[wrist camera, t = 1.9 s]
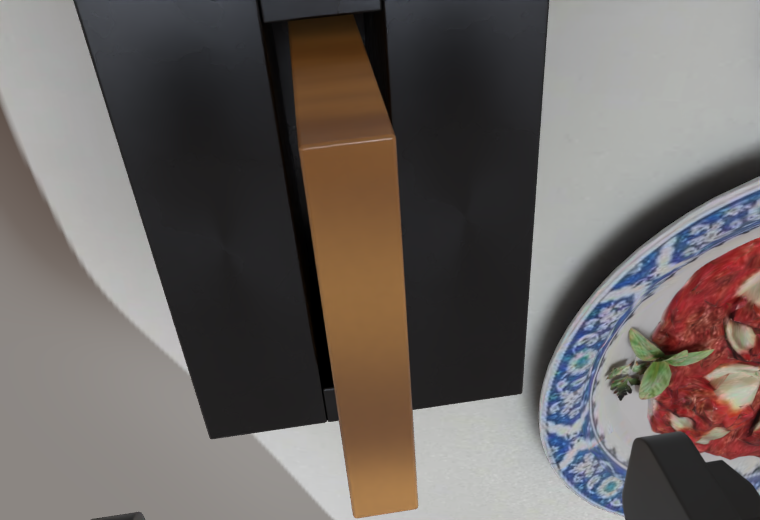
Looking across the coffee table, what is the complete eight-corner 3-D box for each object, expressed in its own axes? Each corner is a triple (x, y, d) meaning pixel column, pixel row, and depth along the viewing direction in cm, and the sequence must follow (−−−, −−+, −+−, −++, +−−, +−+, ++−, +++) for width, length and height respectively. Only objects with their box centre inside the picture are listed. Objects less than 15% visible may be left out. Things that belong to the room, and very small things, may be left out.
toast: (284, -14, 19) (297, 146, 11) (341, -20, 20) (396, 135, 11) (325, 277, 25) (353, 520, 17) (369, 271, 25) (419, 510, 17)
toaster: (131, -154, 22) (40, -99, 13) (445, -183, 23) (559, -148, 14) (225, 245, 31) (209, 440, 22) (450, 216, 32) (522, 394, 23)
